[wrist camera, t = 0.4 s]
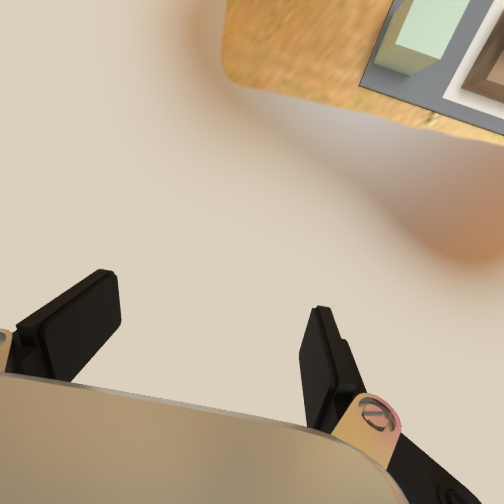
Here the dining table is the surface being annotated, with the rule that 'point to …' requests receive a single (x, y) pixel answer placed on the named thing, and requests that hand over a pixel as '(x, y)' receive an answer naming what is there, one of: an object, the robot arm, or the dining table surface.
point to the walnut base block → (489, 66)
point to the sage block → (419, 34)
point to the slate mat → (446, 71)
